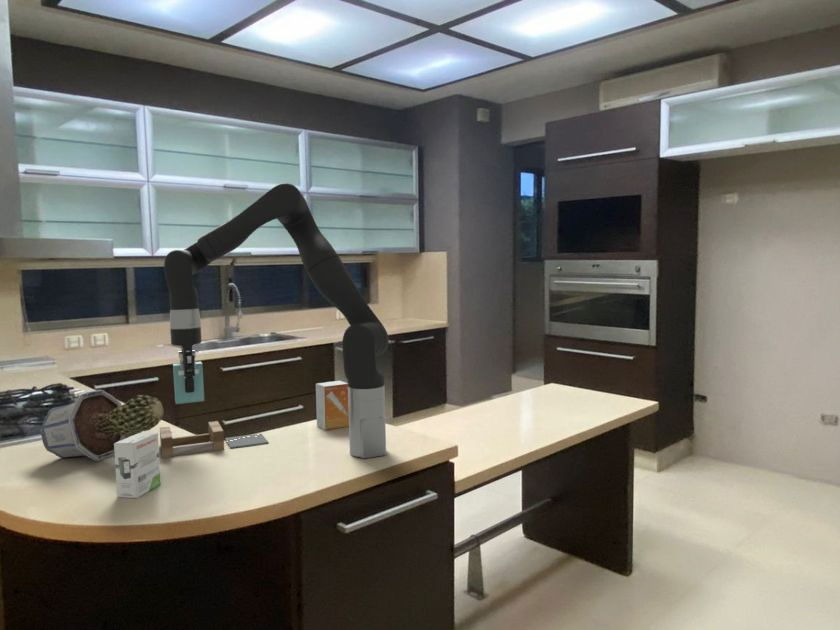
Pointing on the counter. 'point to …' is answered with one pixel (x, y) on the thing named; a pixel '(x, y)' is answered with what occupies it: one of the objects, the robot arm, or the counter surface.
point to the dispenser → (192, 441)
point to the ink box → (137, 465)
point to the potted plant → (97, 424)
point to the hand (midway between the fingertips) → (189, 390)
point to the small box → (332, 405)
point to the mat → (246, 440)
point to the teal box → (180, 384)
